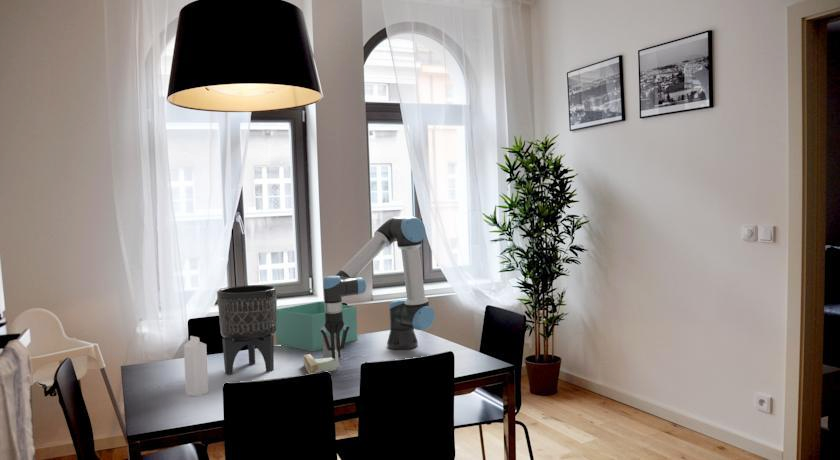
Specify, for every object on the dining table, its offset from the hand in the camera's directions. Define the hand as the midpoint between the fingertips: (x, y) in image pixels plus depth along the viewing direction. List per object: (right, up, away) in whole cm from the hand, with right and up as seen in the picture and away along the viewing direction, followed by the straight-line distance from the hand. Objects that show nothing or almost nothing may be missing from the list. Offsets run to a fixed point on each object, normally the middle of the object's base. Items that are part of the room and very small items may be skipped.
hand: (336, 365), depth 267 cm
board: (-10, -2, -4) cm, 11 cm away
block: (-5, -1, -1) cm, 5 cm away
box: (-17, 0, +53) cm, 56 cm away
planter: (-38, -2, +2) cm, 38 cm away
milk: (-49, -4, -31) cm, 58 cm away
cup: (-4, -1, +18) cm, 18 cm away
